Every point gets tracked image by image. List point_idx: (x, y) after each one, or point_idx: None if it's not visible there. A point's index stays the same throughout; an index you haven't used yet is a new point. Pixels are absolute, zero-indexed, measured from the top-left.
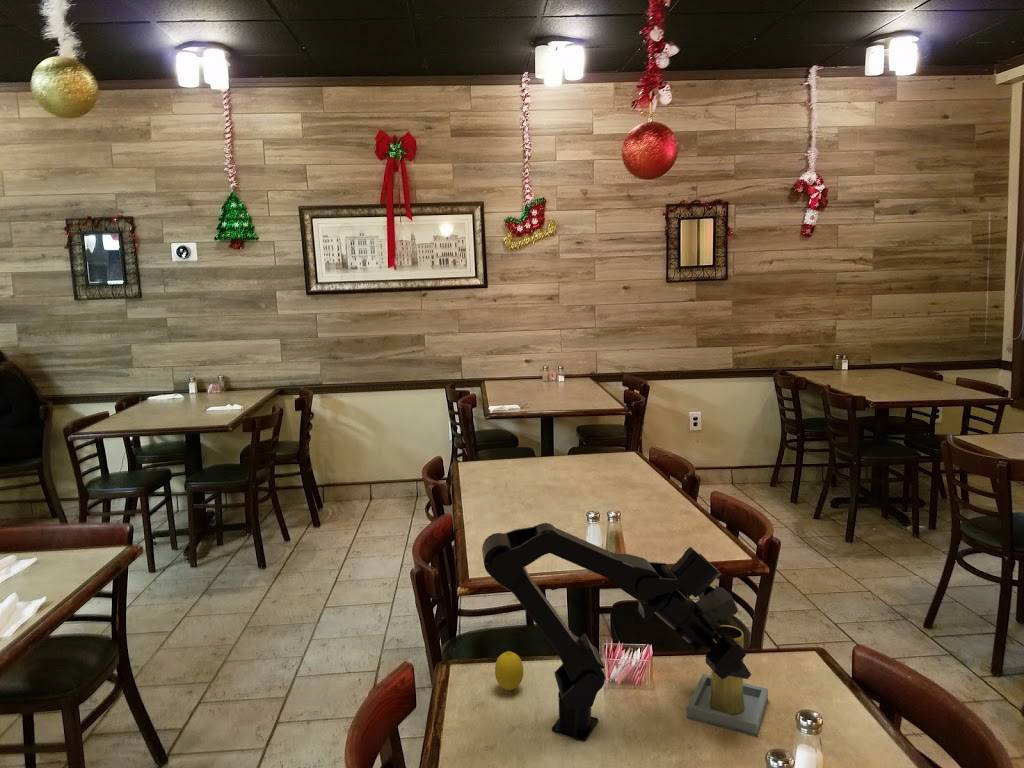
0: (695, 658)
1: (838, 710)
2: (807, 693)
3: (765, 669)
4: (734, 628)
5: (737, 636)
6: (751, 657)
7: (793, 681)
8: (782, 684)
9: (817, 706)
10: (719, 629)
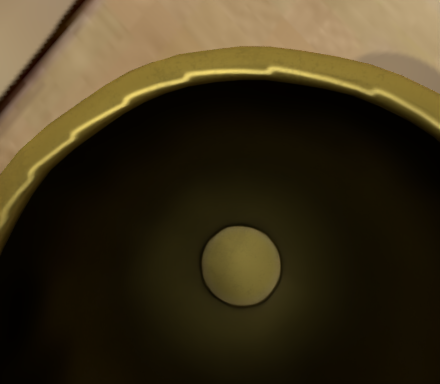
0: (7, 137)
1: (412, 17)
2: (313, 21)
3: (170, 23)
4: (190, 86)
5: (254, 133)
6: (108, 9)
7: (254, 8)
8: (247, 40)
9: (371, 45)
10: (19, 282)
